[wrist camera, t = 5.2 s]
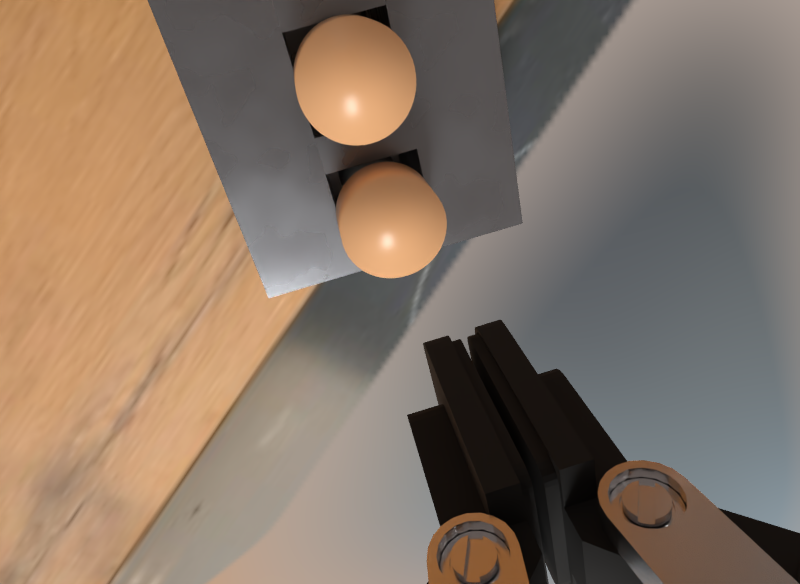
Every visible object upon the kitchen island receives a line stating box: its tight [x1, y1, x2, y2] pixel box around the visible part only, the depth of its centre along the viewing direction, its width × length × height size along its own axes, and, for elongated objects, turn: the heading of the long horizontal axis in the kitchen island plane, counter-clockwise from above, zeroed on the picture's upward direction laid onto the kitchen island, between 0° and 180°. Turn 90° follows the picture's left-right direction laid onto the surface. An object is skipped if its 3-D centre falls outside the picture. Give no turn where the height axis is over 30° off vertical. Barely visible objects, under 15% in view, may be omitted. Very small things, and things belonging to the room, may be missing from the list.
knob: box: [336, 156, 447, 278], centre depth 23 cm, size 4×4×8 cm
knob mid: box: [294, 14, 416, 146], centre depth 21 cm, size 4×4×8 cm
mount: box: [148, 0, 522, 298], centre depth 23 cm, size 11×15×7 cm
